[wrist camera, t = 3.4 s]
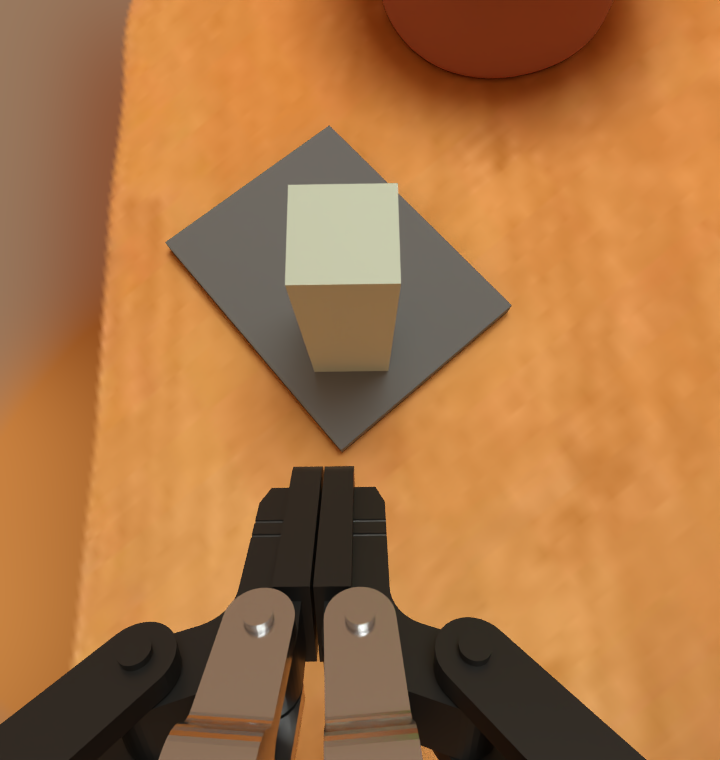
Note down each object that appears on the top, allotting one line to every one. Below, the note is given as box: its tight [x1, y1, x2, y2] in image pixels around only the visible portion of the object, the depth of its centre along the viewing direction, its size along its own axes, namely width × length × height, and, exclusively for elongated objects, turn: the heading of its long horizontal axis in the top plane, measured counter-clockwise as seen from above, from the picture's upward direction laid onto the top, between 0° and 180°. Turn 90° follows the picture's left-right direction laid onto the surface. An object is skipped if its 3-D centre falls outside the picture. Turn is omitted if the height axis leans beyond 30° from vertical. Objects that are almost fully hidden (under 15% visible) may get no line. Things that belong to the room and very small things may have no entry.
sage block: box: [285, 183, 401, 372], centre depth 27 cm, size 4×4×12 cm
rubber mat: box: [165, 126, 512, 452], centre depth 34 cm, size 18×14×1 cm
